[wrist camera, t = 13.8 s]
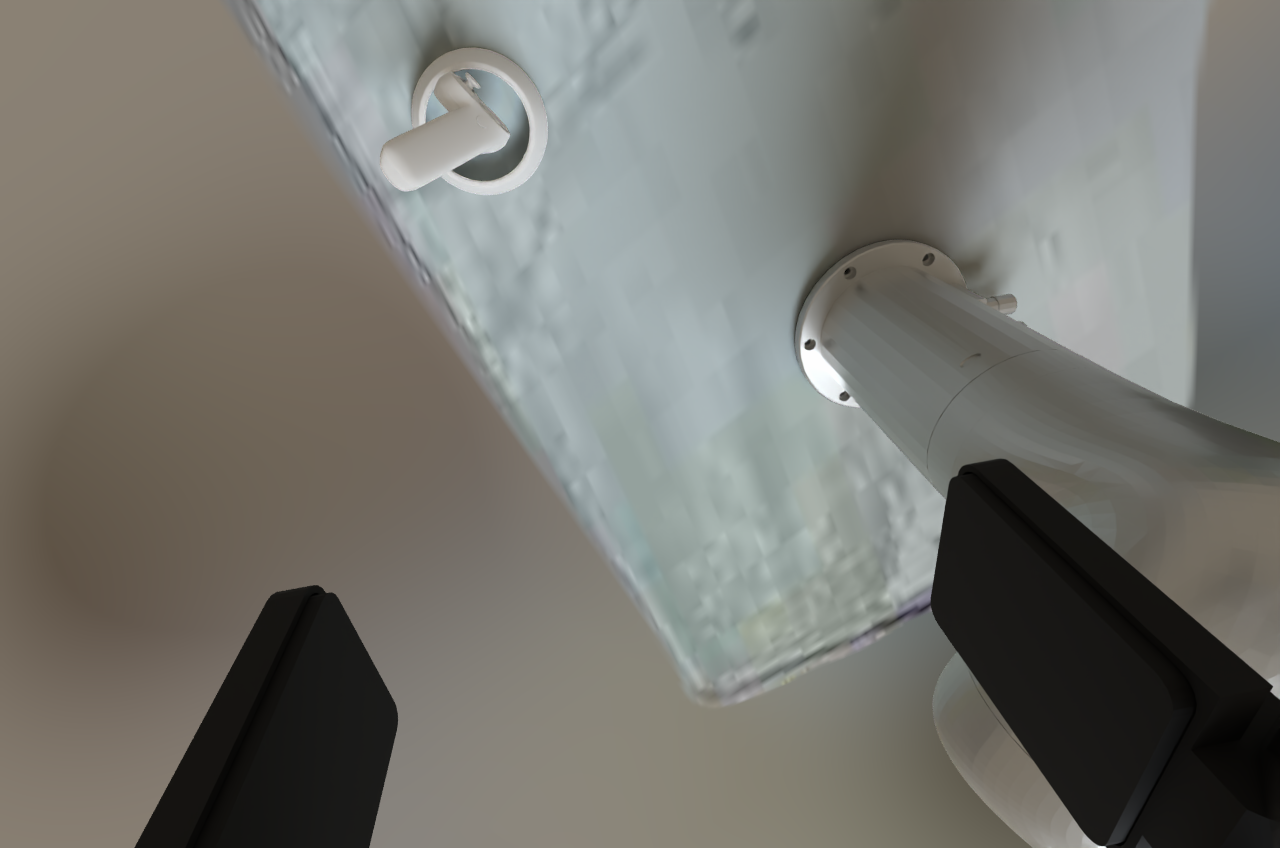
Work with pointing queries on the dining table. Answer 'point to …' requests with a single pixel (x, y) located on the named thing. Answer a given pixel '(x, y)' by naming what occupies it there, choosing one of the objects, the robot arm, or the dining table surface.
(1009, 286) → the dining table surface
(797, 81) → the dining table surface
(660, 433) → the dining table surface
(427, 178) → the white ring with handle
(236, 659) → the robot arm
